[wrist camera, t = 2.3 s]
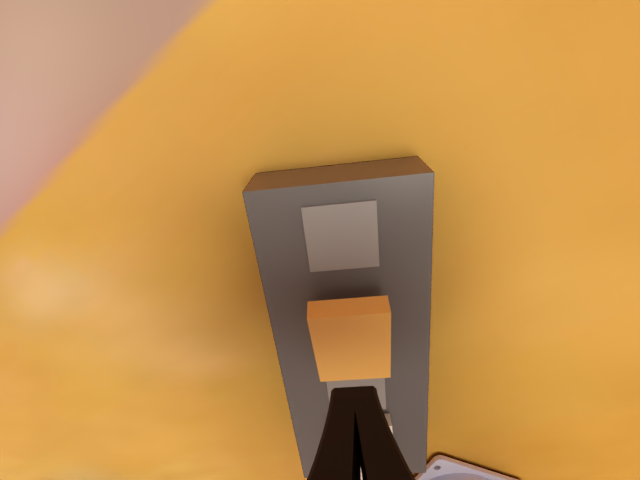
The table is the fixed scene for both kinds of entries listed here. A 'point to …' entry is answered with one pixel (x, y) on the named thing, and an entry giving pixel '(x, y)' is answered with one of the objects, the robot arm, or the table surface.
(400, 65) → the table surface
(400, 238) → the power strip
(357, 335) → the block
